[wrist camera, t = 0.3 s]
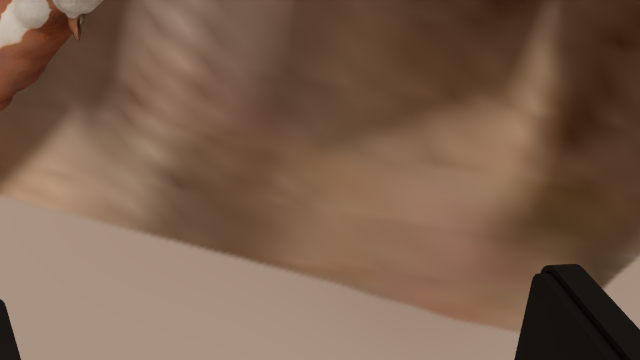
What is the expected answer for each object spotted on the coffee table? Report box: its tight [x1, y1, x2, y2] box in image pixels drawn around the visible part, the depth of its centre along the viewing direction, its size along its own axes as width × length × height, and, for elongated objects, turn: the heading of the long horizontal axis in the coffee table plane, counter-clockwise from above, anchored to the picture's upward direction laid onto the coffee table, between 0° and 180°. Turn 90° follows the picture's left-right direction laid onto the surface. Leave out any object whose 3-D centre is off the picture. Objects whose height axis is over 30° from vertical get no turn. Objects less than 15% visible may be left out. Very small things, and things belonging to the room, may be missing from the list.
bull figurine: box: [0, 0, 103, 111], centre depth 31 cm, size 4×13×8 cm, turn 127°
